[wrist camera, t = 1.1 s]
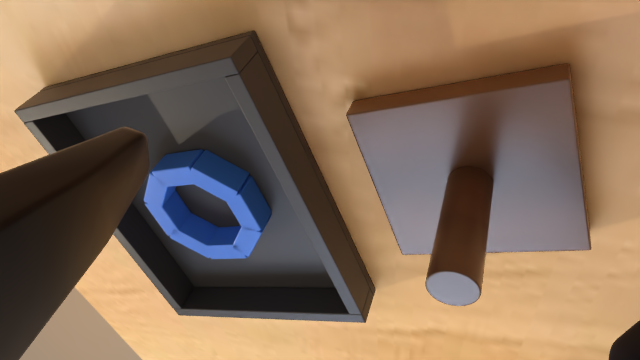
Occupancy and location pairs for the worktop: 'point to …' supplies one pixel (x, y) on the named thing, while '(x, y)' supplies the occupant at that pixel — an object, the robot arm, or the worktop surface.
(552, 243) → the post
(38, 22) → the worktop surface
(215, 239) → the ring
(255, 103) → the tray
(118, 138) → the robot arm
